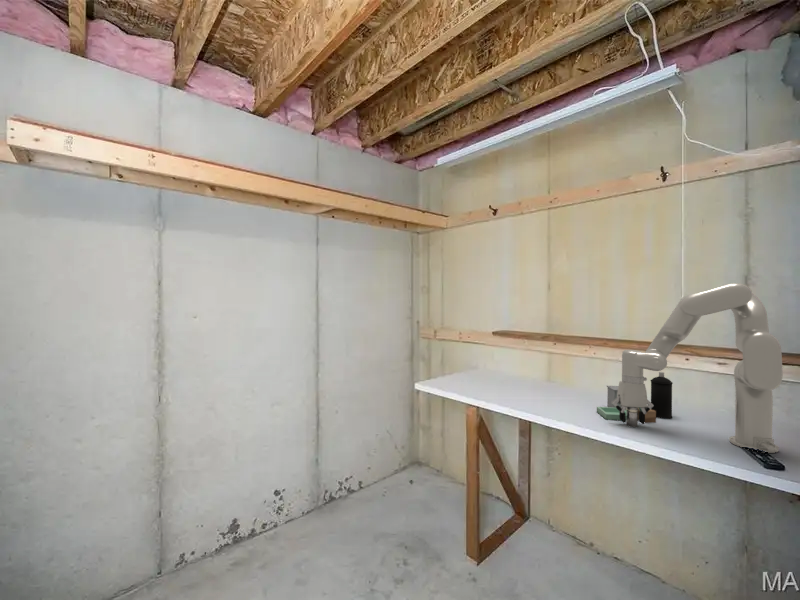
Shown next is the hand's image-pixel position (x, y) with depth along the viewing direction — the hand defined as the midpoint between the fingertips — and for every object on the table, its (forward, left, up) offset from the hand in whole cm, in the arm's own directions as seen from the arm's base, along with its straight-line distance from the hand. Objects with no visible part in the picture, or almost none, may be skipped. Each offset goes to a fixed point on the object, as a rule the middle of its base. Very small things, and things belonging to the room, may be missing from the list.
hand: (632, 421), depth 147 cm
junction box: (+22, -6, -2) cm, 22 cm away
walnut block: (+8, -9, -2) cm, 12 cm away
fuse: (0, 0, -2) cm, 2 cm away
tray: (+11, +3, -2) cm, 11 cm away
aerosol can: (+16, -19, -2) cm, 25 cm away
